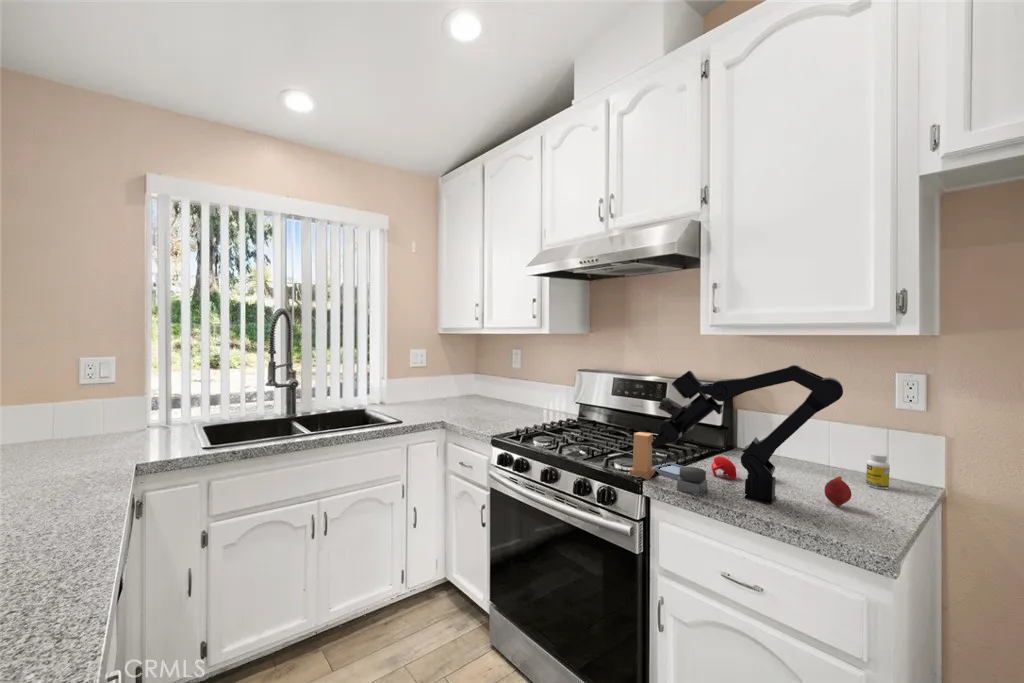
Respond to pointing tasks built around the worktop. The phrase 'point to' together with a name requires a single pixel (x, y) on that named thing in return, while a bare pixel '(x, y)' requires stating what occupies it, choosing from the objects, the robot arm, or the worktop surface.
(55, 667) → the worktop surface
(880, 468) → the supplement bottle
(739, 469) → the worktop surface
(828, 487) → the onion
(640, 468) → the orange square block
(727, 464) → the cap
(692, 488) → the axle mount
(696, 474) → the wheel
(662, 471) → the tray
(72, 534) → the worktop surface
